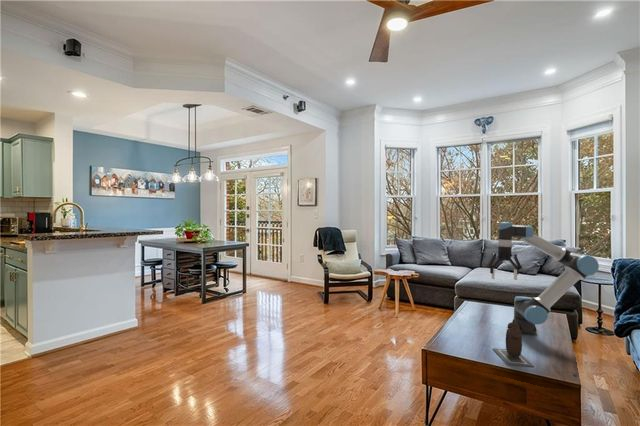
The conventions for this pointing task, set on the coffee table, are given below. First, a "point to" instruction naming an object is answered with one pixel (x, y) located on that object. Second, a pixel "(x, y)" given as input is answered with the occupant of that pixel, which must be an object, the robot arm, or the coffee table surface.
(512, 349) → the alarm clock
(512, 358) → the rest mat
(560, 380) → the coffee table surface
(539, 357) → the coffee table surface
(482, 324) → the coffee table surface
